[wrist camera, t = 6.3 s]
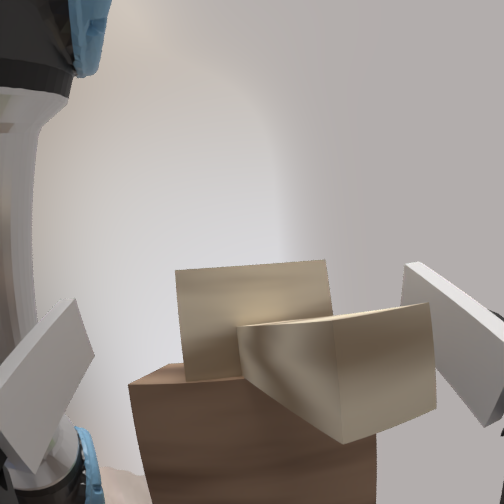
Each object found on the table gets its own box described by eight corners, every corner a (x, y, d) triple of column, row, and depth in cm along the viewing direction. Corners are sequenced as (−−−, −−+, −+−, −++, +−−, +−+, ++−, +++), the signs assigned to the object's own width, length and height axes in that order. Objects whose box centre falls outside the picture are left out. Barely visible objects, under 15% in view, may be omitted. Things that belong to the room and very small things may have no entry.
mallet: (499, 373, 6) (470, 182, 8) (198, 473, 5) (168, 170, 6) (304, 353, 21) (294, 274, 22) (184, 369, 19) (176, 283, 20)
